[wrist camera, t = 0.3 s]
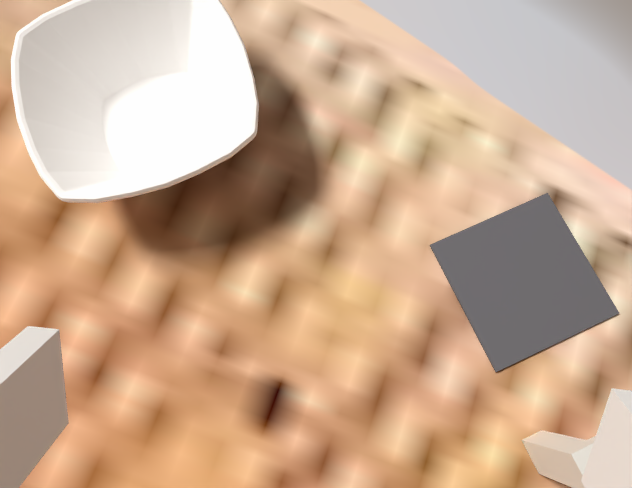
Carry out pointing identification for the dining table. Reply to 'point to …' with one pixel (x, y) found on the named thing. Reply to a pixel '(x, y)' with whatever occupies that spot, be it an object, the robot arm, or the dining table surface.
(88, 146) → the bowl
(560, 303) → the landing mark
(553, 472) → the bridge
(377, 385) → the dining table surface
